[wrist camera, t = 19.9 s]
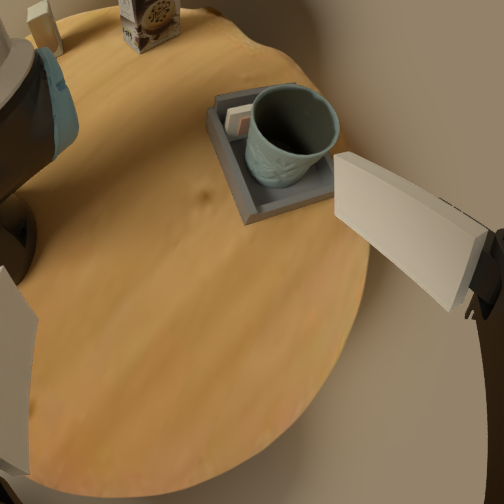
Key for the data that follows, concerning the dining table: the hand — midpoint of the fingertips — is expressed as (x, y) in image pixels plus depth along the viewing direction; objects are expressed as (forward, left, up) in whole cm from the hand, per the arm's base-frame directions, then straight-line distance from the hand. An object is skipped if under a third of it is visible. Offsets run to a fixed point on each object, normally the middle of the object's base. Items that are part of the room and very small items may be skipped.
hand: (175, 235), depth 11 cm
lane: (-3, +22, -30) cm, 37 cm away
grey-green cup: (-2, +21, -29) cm, 36 cm away
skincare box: (-52, +18, -30) cm, 63 cm away
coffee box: (-36, +31, -30) cm, 56 cm away
